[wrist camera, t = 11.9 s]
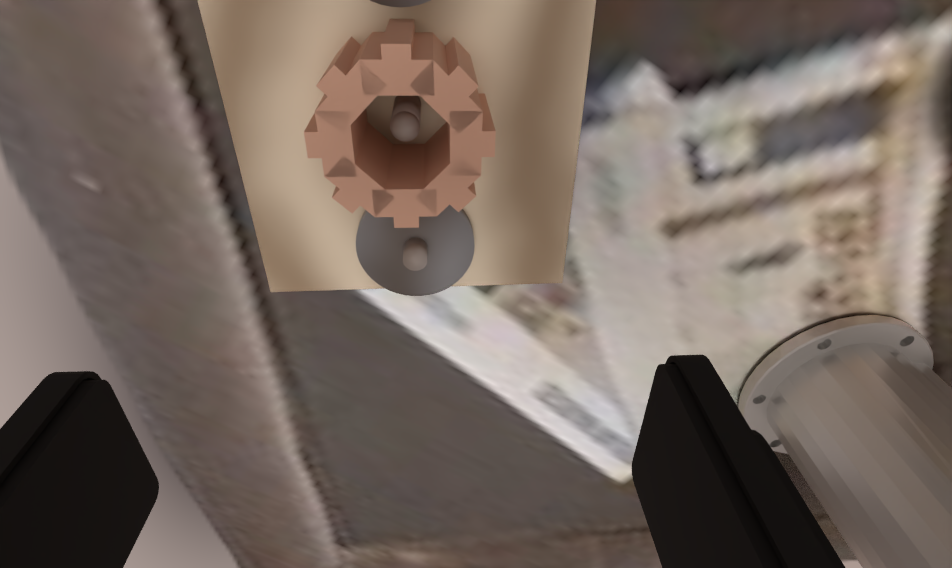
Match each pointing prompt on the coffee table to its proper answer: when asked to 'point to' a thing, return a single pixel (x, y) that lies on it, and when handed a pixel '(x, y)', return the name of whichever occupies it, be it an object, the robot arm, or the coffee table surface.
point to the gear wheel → (401, 165)
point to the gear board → (406, 140)
